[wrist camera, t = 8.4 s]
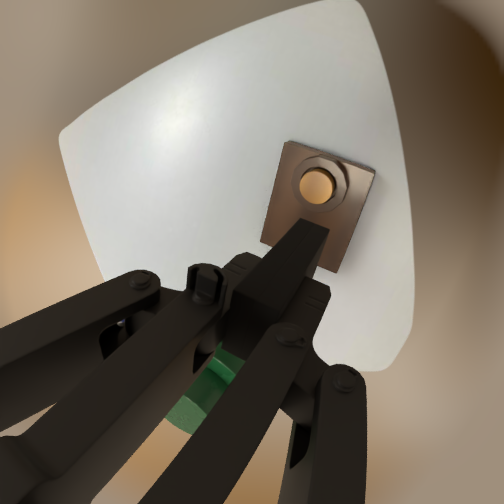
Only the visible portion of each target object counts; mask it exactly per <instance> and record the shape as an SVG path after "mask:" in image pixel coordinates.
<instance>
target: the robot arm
mask: <svg viewBox="0 0 504 504" xmlns="http://www.w3.org/2000/svg"><path fill="white" fill-rule="evenodd" d="M329 232H330V229H328V228H325V227H323V226H320V225H318V224H315V223H313V222H310V221H308V220H305V219H303V218H300V219H299V220H298V221H297V222H296V223H295V224H294V225H293V226H292V227H291V228H290V229H289V230H288V231H287V233H286V234H285V235H284V236H283V237H282V238H281V239H280V240H279V241H278V242H277V243H276V244H275V245H274V246H273V248H272V249H271V250H270V251H269V252H268V253H267V254H266V255H265V256H264V257H263V258H260V257H258V256H256V255H253V254H251V253H249V252H245V253H242V254H239V255H236V256H235V257H234V258H233V259H232V260H231V261H230V262H229V263H227V264H226V265H225V266H224V268H222V269H221V268H220V267H218V266H215V265H212V264H206V263H200V264H194V265H192V266H190V267H188V274H187V285H186V289H185V290H184V291H177V290H173V289H169V288H165V287H161V283H160V279H159V277H158V276H157V275H156V274H154V273H153V272H151V271H147V270H134V271H131V272H128V273H125V274H123V275H121V276H118V277H116V278H114V279H111V280H109V281H107V282H104V283H102V284H100V285H97V286H95V287H92V288H90V289H88V290H85V291H83V292H81V293H79V294H76V295H74V296H72V297H69V298H67V299H65V300H62V301H60V302H58V303H56V304H54V305H51V306H49V307H47V308H44V309H42V310H40V311H38V312H36V313H33V314H31V315H29V316H27V317H24V318H22V319H20V320H18V321H16V322H13V323H11V324H9V325H7V326H5V327H3V328H0V432H1V431H3V430H5V429H7V428H9V427H11V426H13V425H15V424H17V423H19V422H21V421H23V420H24V419H27V418H28V417H30V416H32V415H34V414H36V413H38V412H40V411H41V410H43V409H45V408H47V407H49V406H51V405H53V404H55V403H56V404H55V405H54V406H53V407H52V408H50V409H49V410H48V411H47V412H46V413H45V414H44V415H43V416H42V417H41V418H39V419H38V420H37V421H36V422H35V423H34V424H33V425H32V426H31V427H30V428H29V429H28V430H26V431H25V432H24V433H23V434H21V435H19V436H3V437H0V504H90V503H91V501H92V500H93V498H94V497H95V496H96V495H97V494H98V493H99V492H100V490H101V489H102V488H103V487H104V486H105V485H106V484H107V483H108V482H109V481H110V480H111V478H112V477H113V476H114V475H115V474H116V473H117V472H118V471H119V469H120V468H121V467H122V466H123V465H124V464H125V463H126V462H127V460H128V459H129V458H130V457H131V455H133V453H134V452H135V451H136V450H137V449H138V448H139V447H140V446H141V444H142V443H143V442H144V441H145V440H146V438H147V437H148V436H149V435H150V434H151V433H152V432H153V430H154V429H155V428H156V427H157V426H158V425H159V423H160V422H161V421H162V420H163V418H164V417H165V416H166V415H167V414H168V413H169V411H170V410H171V409H172V408H173V407H174V405H175V404H176V403H177V402H178V401H179V399H180V398H181V397H182V396H183V395H184V393H185V392H186V391H187V390H188V389H189V387H190V386H191V385H192V384H193V382H194V381H195V380H196V379H197V378H198V376H199V375H200V374H201V373H202V371H203V370H204V369H205V368H206V366H207V365H208V364H209V363H210V362H211V360H212V359H213V357H214V355H215V350H216V347H217V346H218V345H219V343H220V342H221V341H222V340H223V341H222V346H221V349H223V350H224V351H226V352H228V353H230V354H232V355H234V356H236V357H238V358H240V359H242V360H244V361H246V362H245V363H244V364H243V366H242V367H241V369H240V370H239V372H238V373H237V374H236V376H235V377H234V379H233V380H232V382H231V383H230V384H229V386H228V387H227V389H226V390H225V391H224V393H223V394H222V396H221V397H220V398H219V400H218V401H217V402H216V404H215V405H214V407H213V408H212V409H211V411H210V412H209V413H208V415H207V416H206V417H205V419H204V420H203V422H202V423H201V424H200V426H199V427H198V428H197V430H196V431H195V432H194V434H193V435H192V436H191V437H190V439H189V440H188V441H187V443H186V444H185V445H184V447H183V448H182V449H181V451H180V452H179V453H178V455H177V456H176V457H175V458H174V460H173V461H172V462H171V463H170V465H169V466H168V467H167V468H166V470H165V471H164V472H163V473H162V475H161V476H160V477H159V478H158V480H157V481H156V482H155V483H154V485H153V486H152V487H151V488H150V489H149V491H148V492H147V493H146V494H145V496H144V497H143V498H142V499H141V500H140V502H139V503H138V504H223V503H224V501H225V500H226V499H227V497H228V495H229V494H230V492H231V491H232V489H233V487H234V486H235V484H236V483H237V481H238V479H239V478H240V476H241V474H242V473H243V471H244V469H245V468H246V466H247V465H248V463H249V461H250V460H251V458H252V456H253V454H254V453H255V451H256V449H257V447H258V446H259V444H260V442H261V440H262V439H263V437H264V435H265V433H266V431H267V430H268V428H269V426H270V424H271V422H272V420H273V419H274V417H275V415H276V413H277V411H278V409H279V408H280V409H282V411H284V412H285V413H286V414H287V415H288V416H289V417H291V418H292V419H293V424H292V431H291V436H290V442H289V447H288V454H287V459H286V464H285V470H284V475H283V480H282V485H281V490H280V495H279V500H278V504H365V491H366V468H367V399H366V385H365V381H364V378H363V377H362V376H361V374H360V373H359V372H358V371H357V370H355V369H354V368H353V367H350V366H347V365H345V364H335V365H332V366H329V365H328V364H326V363H325V362H324V361H323V360H322V359H321V358H319V357H318V355H317V354H316V352H315V351H314V348H313V342H312V341H313V337H314V335H315V332H316V330H317V328H318V326H319V323H320V321H321V319H322V316H323V314H324V312H325V309H326V307H327V305H328V302H329V300H330V298H331V292H330V287H329V286H328V285H325V284H323V283H321V282H318V281H316V280H314V279H312V278H313V275H314V273H315V270H316V267H317V265H318V262H319V259H320V257H321V254H322V251H323V248H324V246H325V243H326V240H327V237H328V234H329ZM122 320H124V322H122V323H118V322H120V321H122Z"/></svg>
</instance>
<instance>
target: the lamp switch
mask: <svg viewBox="0 0 504 504" xmlns="http://www.w3.org/2000/svg"><path fill="white" fill-rule="evenodd" d="M334 189H335V182H334V179H333V177H332V176H331V175H330V174H329V173H328V172H327V171H325V170H323V169H313V170H311V171H309V172H308V173H306V174H305V175H304V176H303V177H302V179H301V181H300V192H301V194H302V196H303V197H304V198H305V199H306V200H307V201H308V202H310V203H313V204H321V203H324V202H326V201H327V200H328V199H329V198H330V197H331V195H332V194H333V192H334Z"/></svg>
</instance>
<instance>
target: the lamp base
mask: <svg viewBox="0 0 504 504" xmlns="http://www.w3.org/2000/svg"><path fill="white" fill-rule="evenodd" d="M313 169H323V170H325V171H327V172H328V173H329V174H330V175H331V176H332V177H333V179H334V182H335V189H334V192H333V194H332V195H331V197H330V198H329V199H328V200H327V201H326V202H324V203H321V204H313V203H310V202H308V201H307V200H306V199H305V198H304V197H303V196H302V194H301V192H300V181H301V179H302V177H303V176H304V175H305V174H306V173H308V172H309V171H311V170H313ZM374 174H375V171H374V170H372V169H369V168H367V167H364V166H362V165H359V164H356V163H354V162H351V161H348V160H345V159H343V158H340V157H337V156H334V155H331V154H329V153H326V152H323V151H320V150H317V149H314V148H311V147H308V146H305V145H301V144H298V143H295V142H292V141H288V142H285V143H284V146H283V151H282V155H281V159H280V163H279V167H278V171H277V175H276V179H275V183H274V187H273V191H272V195H271V199H270V203H269V207H268V211H267V215H266V219H265V223H264V227H263V231H262V235H261V239H260V242H262V243H264V244H267V245H269V246H271V247H273V246H274V245H275V244H276V243H277V242H278V241H279V240H280V239H281V238H282V237H283V236H284V235H285V234H286V233H287V231H288V230H289V229H290V228H291V227H292V226H293V225H294V224H295V223H296V222H297V221H298V220H299V219H300V218H303V219H305V220H308V221H310V222H313V223H315V224H318V225H320V226H323V227H325V228H328V229H330V232H329V234H328V237H327V240H326V243H325V246H324V248H323V251H322V254H321V257H320V259H319V262H318V265H317V266H319V267H322V268H324V269H327V270H329V271H331V272H334V273H337V271H338V269H339V267H340V264H341V262H342V259H343V257H344V254H345V252H346V249H347V247H348V245H349V242H350V239H351V237H352V234H353V232H354V229H355V227H356V224H357V221H358V219H359V216H360V213H361V211H362V208H363V205H364V203H365V200H366V197H367V194H368V191H369V189H370V186H371V183H372V180H373V177H374Z"/></svg>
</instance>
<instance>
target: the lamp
mask: <svg viewBox="0 0 504 504" xmlns="http://www.w3.org/2000/svg"><path fill="white" fill-rule="evenodd" d="M222 341H223V340H222ZM222 341H221V342H220V343H219V345H218V346H217V347H216V350H215V355H214V357H213V359H212V360H211V362H210V363H209V364H208V365H207V366H206V368H205V369H204V370H203V371H202V373H201V374H200V375H199V376H198V378H197V379H196V380H195V381H194V382H193V384H192V385H191V386H190V387H189V389H188V390H187V391H186V392H185V393H184V395H183V396H182V397H181V398H180V399H179V401H178V402H177V403H176V404H175V405H174V407H173V408H172V409H171V410H170V411H169V413H168V414H167V415H166V416H165V417H164V418H166V419H167V420H168V421H169V422H171V423H172V424H173V425H175V426H176V427H178V428H179V429H181V430H183V431H185V432H187V433H189V434H192V435H193V434H194V432H195V431H196V430H197V428H198V427H199V426H200V424H201V423H202V422H203V420H204V419H205V417H206V416H207V415H208V413H209V412H210V411H211V409H212V408H213V407H214V405H215V404H216V402H217V401H218V400H219V398H220V397H221V396H222V394H223V393H224V391H225V390H226V389H227V387H228V386H229V384H230V383H231V382H232V380H233V379H234V377H235V376H236V374H237V373H238V372H239V370H240V369H241V367H242V366H243V364H244V363H245V362H246V361H244V360H242V359H240V358H238V357H236V356H234V355H232V354H230V353H228V352H226V351H224V350H223V349H221V346H222Z"/></svg>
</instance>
